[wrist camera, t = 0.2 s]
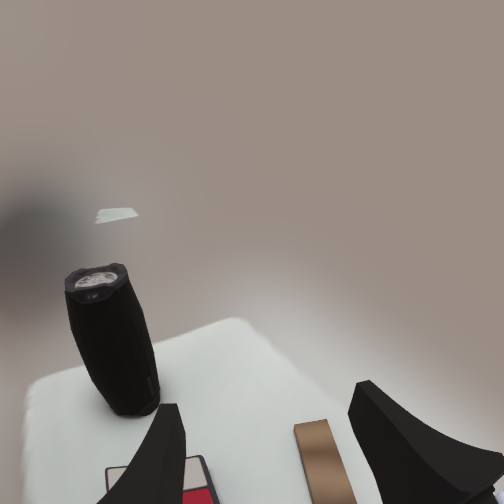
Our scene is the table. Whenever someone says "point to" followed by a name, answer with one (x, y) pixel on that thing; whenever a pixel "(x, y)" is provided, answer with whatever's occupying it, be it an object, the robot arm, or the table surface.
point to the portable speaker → (113, 338)
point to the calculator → (195, 481)
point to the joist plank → (323, 464)
